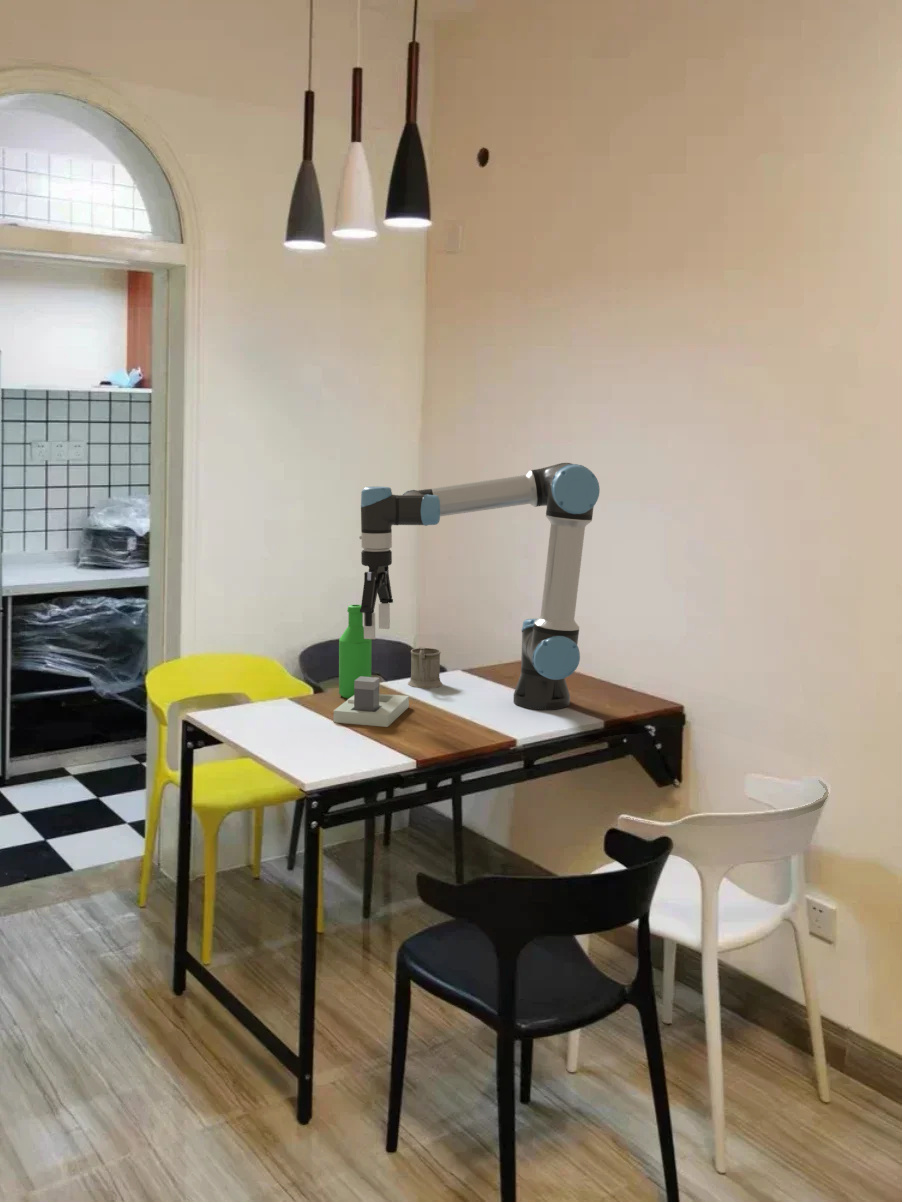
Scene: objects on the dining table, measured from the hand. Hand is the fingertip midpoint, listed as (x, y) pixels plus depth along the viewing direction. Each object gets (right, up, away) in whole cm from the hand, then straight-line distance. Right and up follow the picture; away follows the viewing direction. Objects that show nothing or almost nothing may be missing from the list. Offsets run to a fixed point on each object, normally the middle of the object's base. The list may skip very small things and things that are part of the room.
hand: (377, 633), depth 284 cm
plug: (-3, -21, +1) cm, 21 cm away
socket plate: (-2, -21, +6) cm, 22 cm away
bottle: (-8, -18, +24) cm, 31 cm away
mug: (+11, -16, +37) cm, 42 cm away
